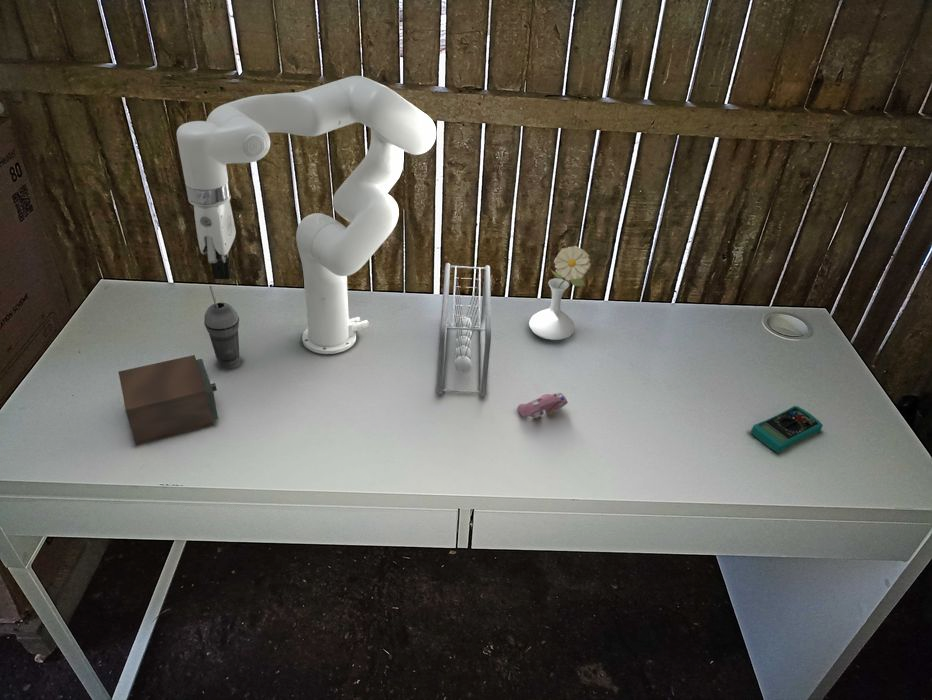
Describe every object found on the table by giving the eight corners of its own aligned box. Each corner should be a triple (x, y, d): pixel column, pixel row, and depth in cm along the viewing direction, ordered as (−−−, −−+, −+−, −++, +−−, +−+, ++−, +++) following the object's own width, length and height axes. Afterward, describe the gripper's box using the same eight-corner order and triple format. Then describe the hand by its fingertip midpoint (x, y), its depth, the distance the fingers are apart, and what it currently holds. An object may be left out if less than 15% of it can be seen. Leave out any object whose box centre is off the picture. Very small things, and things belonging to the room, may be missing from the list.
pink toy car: (523, 427, 152) (534, 414, 146) (514, 408, 154) (524, 394, 148) (561, 414, 156) (574, 401, 150) (552, 396, 158) (564, 382, 152)
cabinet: (201, 388, 154) (194, 354, 148) (213, 425, 145) (206, 390, 140) (128, 406, 148) (118, 371, 143) (136, 445, 139) (125, 409, 134)
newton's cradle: (442, 321, 180) (445, 259, 169) (484, 323, 180) (490, 261, 170) (436, 398, 156) (439, 331, 145) (485, 401, 156) (491, 334, 145)
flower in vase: (519, 330, 178) (530, 241, 164) (545, 313, 186) (558, 225, 171) (562, 353, 172) (578, 261, 157) (588, 333, 179) (605, 244, 164)
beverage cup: (237, 375, 158) (224, 298, 146) (206, 370, 159) (190, 293, 147) (251, 356, 164) (240, 281, 152) (221, 351, 165) (208, 275, 153)
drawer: (213, 384, 154) (207, 357, 150) (224, 417, 146) (219, 389, 141) (139, 401, 148) (132, 373, 144) (147, 436, 140) (139, 408, 136)
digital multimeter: (821, 432, 154) (826, 422, 152) (776, 455, 147) (781, 445, 146) (793, 412, 159) (797, 402, 157) (748, 434, 152) (752, 423, 150)
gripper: (220, 209, 127) (234, 297, 138) (237, 175, 139) (248, 259, 150) (176, 208, 126) (194, 296, 137) (197, 174, 138) (211, 258, 149)
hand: (222, 277), depth 143 cm, fingers closed
